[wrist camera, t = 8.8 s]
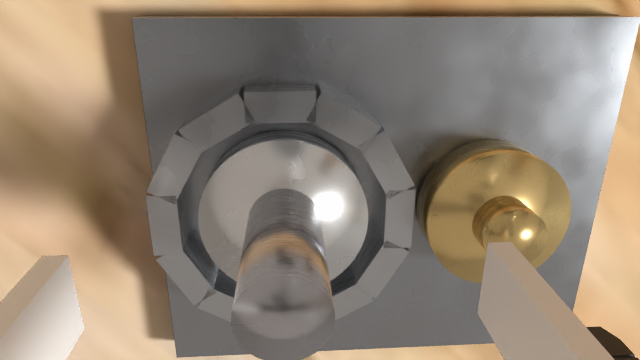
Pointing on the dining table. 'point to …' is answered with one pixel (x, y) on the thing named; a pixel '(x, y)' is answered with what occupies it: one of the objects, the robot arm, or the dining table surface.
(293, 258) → the silver round-based piece
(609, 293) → the dining table surface
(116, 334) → the dining table surface
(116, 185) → the dining table surface
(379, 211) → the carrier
